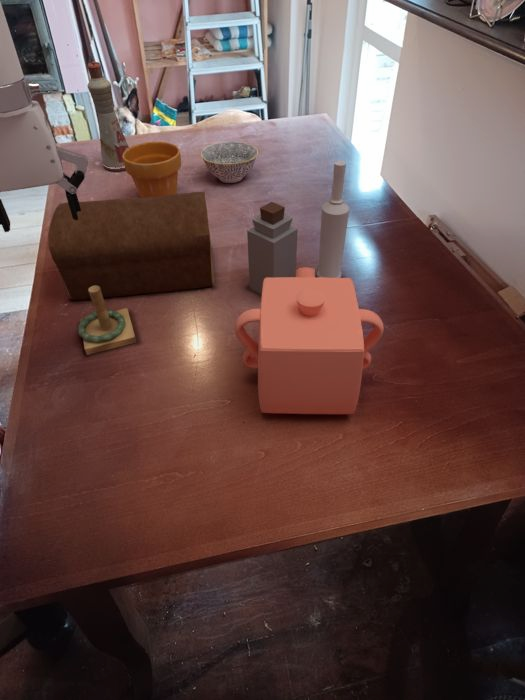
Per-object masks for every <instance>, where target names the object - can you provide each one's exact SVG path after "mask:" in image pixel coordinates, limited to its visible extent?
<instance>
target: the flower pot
mask: <svg viewBox="0 0 525 700" xmlns="http://www.w3.org/2000/svg"><path fill="white" fill-rule="evenodd" d="M122 157H123V161H124V165H125V171H126V173H127V174H128V175H129V176H130V177H131V179H132V181H133V184H134V186H135V188H136V190H137V193H138V195H139V198H146V197H157V196H165V195H175V194H178V192H177V191H178V179H179V178H178V177H179V171H180V169H181V167H182V156H181V150H180V148H179V147H178V146H177V145H176V144H173V143H171V142H166V141H146V142H142V143H138V144H135V145H132V146H129V148H128V149H127V150H125V151H124V153H123V155H122Z"/></svg>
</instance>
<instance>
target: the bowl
mask: <svg viewBox="0 0 525 700" xmlns="http://www.w3.org/2000/svg"><path fill="white" fill-rule="evenodd" d="M199 155H200V157H201V159H202V160H203V162H204V164H205V167H206V168H207V170H208V171H209V173H211V175H213V176H214V177H216V178H217V179H218V180H219V181H220V182H222V183H224V184H225V183H226V184H234V183H235V184H236V183H238V182H241V181H242V180H243V178H244V177H246V176H247V175H249V173H250V172H251V171H252V169H253V167H254V164H255V162H256V159H257V157H258V155H259V150H258V148H257V147H255V146H254V145H252V144H250V143H247V142H241V141H219V142H215V143H211V144H209V145H207V146H205V147H204V148H203V149H201V151H200V153H199Z"/></svg>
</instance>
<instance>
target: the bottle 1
mask: <svg viewBox="0 0 525 700" xmlns="http://www.w3.org/2000/svg"><path fill="white" fill-rule="evenodd" d="M87 70H88V72H89V76H90V79H89V82H88V83H87V89H88V91H89V93H90V97H91V99H92V102H93V104H94V106H95V109H96V112H97V123H98V130H99V141H100V142H99V143H100V152H101V163H102V165H103V164H104V165H105V166H107V167H115V168H116V167H122V166H125V165H124V161H123V157H122V155H123V153H124V151H125V150H127V149H128V148H130V145H129V143H128V141H127V139H126V137H125V135H124V132H123V129H122V128H121V127H122V126H121V125H120V122H119V119H118V117H117V114H116V111H115V107H114V105H115V104H114V98H113V91H112V83H111V81H109V79H107V78H105V76H104V75H103V68H102V63H100V62H98V61H92V62H89V63H88V64H87ZM104 165H103V167H104V168H105V169H107V170H108V171H110V172H112V171H113V172H122V171H126V169H125V168H120V169H110V168H106V167H105V166H104Z"/></svg>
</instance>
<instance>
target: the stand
mask: <svg viewBox="0 0 525 700" xmlns="http://www.w3.org/2000/svg"><path fill="white" fill-rule="evenodd" d="M88 291H89V294H90V297H91V299H90V300H91V302H92V305H93V309H94V312H96V314H97V317H98V318H95V319H94V320H92V321H91V322H89V323H88V324H87V326H86V327H85V331H86V333H88V334H89V335H94V336H101V335H105V334H109V333H110V332H112V331H113V330H115V329H116V327H117V326H118V324H119V323H118V320H117V319H116V318H114V317H109V314H108V311H107V310H108V308H107V305H106V301H105V299H104V298H105V297H103V295H102V292H101V289H100V287H99V286H91V287H90V288H89V289H88ZM128 309H129V308H128V307H125V308H122V309H121V308H120V309H117V310H115V311H116V312H118V313H119V314H121V315H123V317H124V320H125V324H126V325H125V327H124V329H123V331H122V332H121V334H119V335H118V336H116V337H115V338H113V339H112V340H108V341H104V342H100V343H97V342H88V341H86V340H85V339H83V338H82V342H83V348H84V351H85V355H86V356H89V355H92V354H96V353H101V352H105V351H110V350H113V349H116V348H120V347H124V346H129V345H132V344H137V339H136V335H135V331H134V327H133V323H132V320H131V316H130V313H129V310H128ZM83 318H84V317H82V318H80V319H79V320H80V321H79V322H80V323H81V321H82V319H83ZM80 323H79V324H80Z"/></svg>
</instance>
